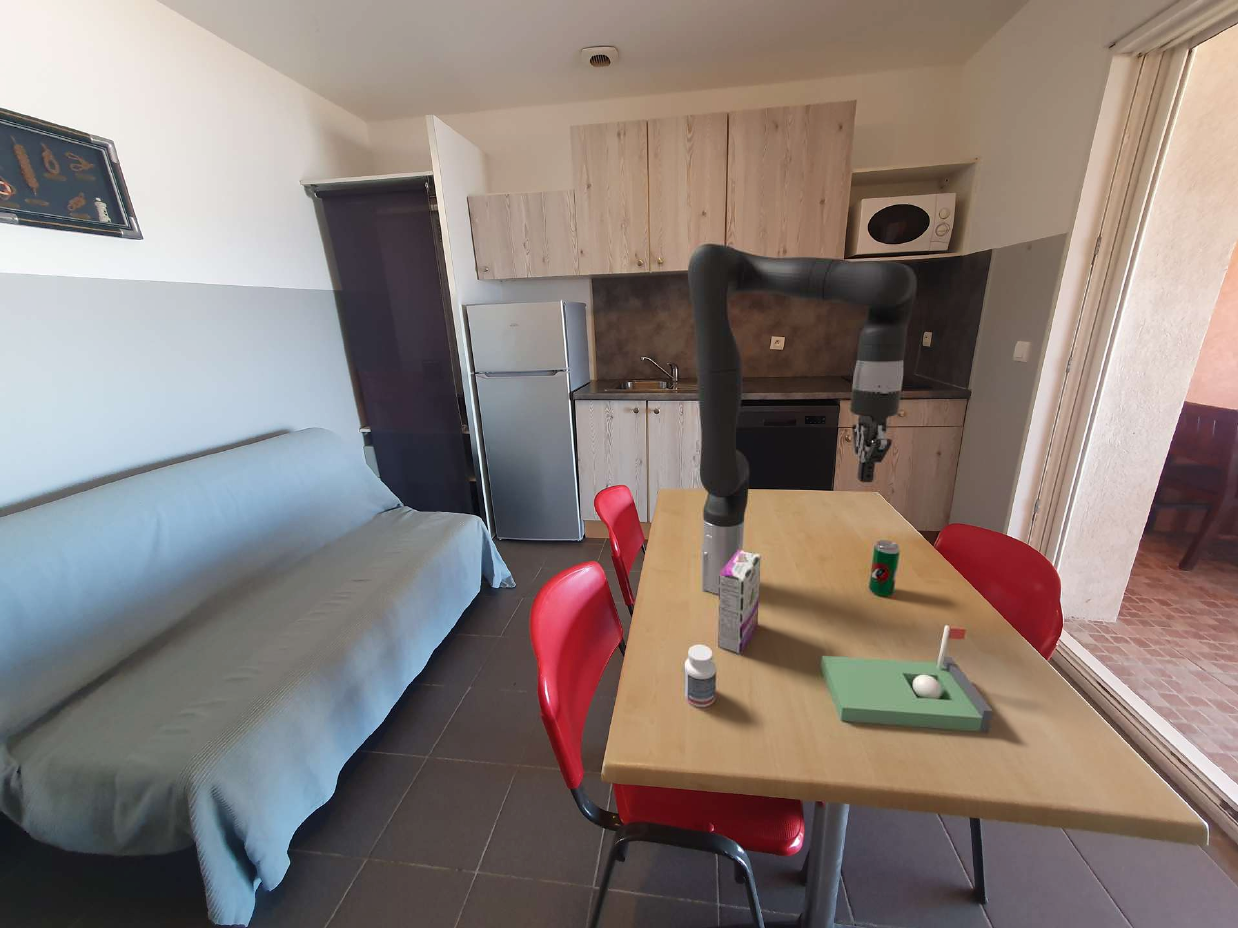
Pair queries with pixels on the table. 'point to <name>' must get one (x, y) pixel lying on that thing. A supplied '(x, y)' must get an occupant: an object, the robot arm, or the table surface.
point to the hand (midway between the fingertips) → (864, 480)
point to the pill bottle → (700, 676)
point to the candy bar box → (738, 600)
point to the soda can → (884, 568)
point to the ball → (926, 687)
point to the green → (906, 691)
